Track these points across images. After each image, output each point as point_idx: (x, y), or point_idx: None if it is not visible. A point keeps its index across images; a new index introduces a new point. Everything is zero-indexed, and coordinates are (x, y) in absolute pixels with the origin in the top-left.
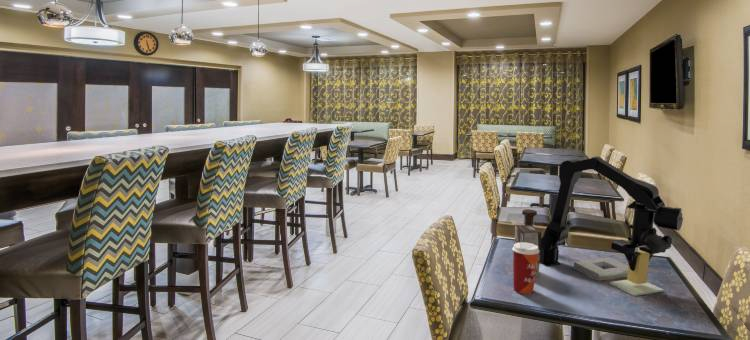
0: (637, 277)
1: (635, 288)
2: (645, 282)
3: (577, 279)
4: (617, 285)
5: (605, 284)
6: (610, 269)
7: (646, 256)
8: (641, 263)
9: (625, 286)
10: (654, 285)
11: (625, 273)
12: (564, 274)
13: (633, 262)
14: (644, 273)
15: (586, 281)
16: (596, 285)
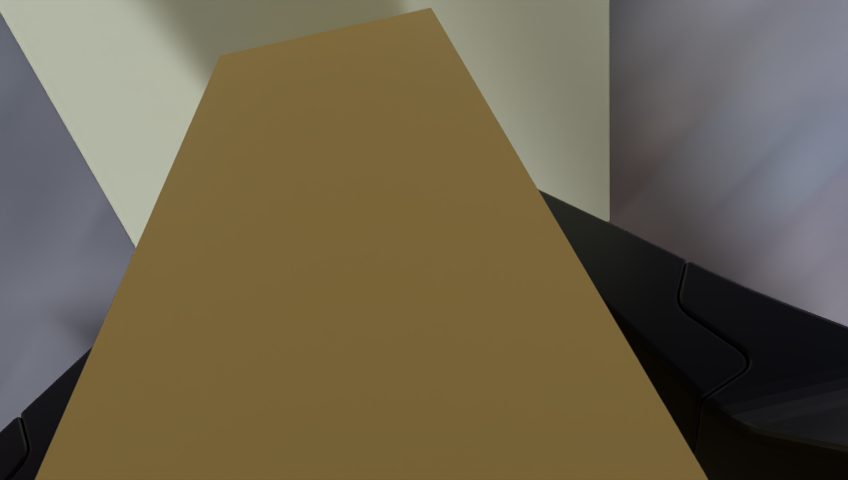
0: (453, 49)
1: (424, 4)
2: (241, 53)
3: (822, 309)
4: (602, 121)
5: (660, 195)
6: None
7: (217, 475)
8: (435, 226)
9: (520, 85)
10: (47, 91)
11: None
12: None
13: (689, 264)
14: (277, 111)
15: (784, 268)
16: (780, 174)
